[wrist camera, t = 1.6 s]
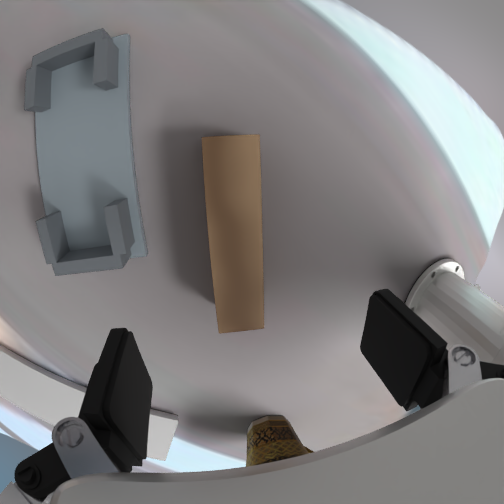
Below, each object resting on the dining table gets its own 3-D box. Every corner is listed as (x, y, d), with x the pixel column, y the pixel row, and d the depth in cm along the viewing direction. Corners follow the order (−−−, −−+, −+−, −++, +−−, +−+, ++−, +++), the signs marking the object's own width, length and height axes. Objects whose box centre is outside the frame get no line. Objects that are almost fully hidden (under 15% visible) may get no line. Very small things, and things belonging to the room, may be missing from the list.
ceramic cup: (230, 439, 37) (238, 489, 28) (247, 407, 34) (260, 465, 25) (299, 439, 41) (314, 482, 31) (324, 407, 38) (346, 455, 28)
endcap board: (130, 36, 17) (119, 20, 13) (147, 253, 24) (139, 269, 21) (41, 67, 16) (22, 59, 12) (62, 263, 23) (45, 279, 20)
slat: (249, 137, 23) (259, 134, 18) (254, 299, 28) (264, 328, 24) (203, 140, 22) (201, 137, 17) (216, 304, 28) (218, 333, 23)
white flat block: (-10, 324, 27) (-8, 371, 27) (-25, 333, 22) (-19, 383, 22) (177, 401, 36) (164, 442, 36) (178, 420, 32) (165, 460, 32)
